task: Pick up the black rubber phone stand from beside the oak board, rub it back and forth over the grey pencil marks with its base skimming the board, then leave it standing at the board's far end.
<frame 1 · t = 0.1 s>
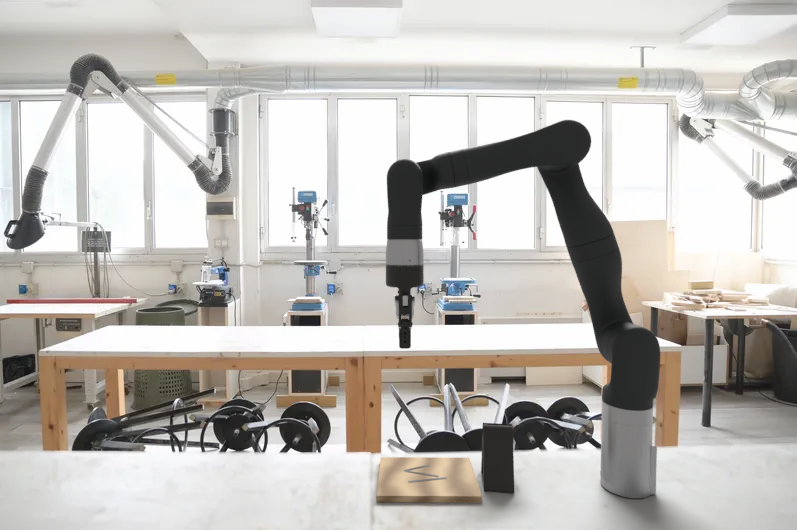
hand: (404, 343, 92), 29 cm above the workbench, tool pointing down, fingers open, 8 cm apart
oak board: (427, 480, 95), on the workbench
phone stand: (496, 482, 95), on the workbench
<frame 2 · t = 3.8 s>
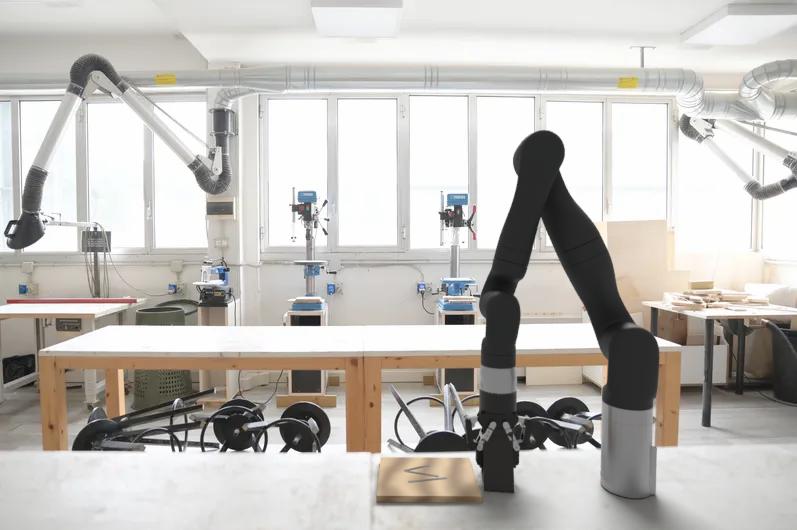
hand: (496, 466, 95), 3 cm above the workbench, tool pointing down, fingers closed on phone stand, 6 cm apart
phone stand: (496, 482, 95), on the workbench, touching gripper
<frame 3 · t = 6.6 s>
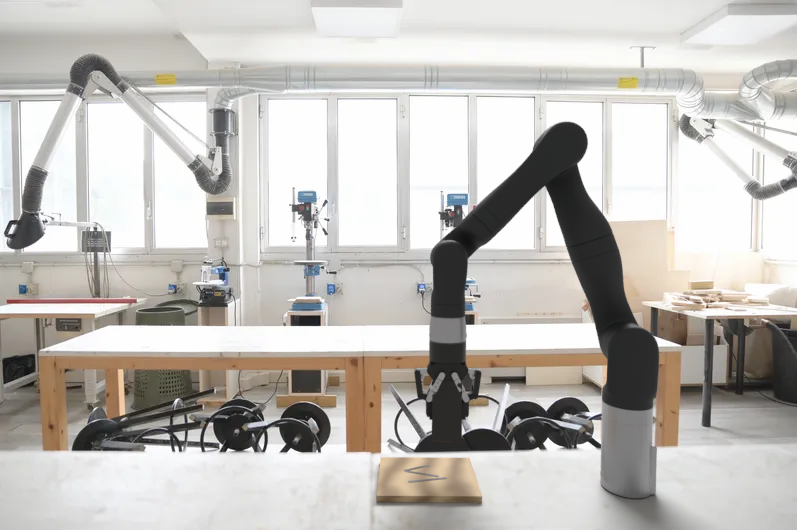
hand: (447, 418, 94), 13 cm above the workbench, tool pointing down, fingers closed on phone stand, 6 cm apart
phone stand: (447, 434, 95), point 10 cm above the workbench, touching gripper
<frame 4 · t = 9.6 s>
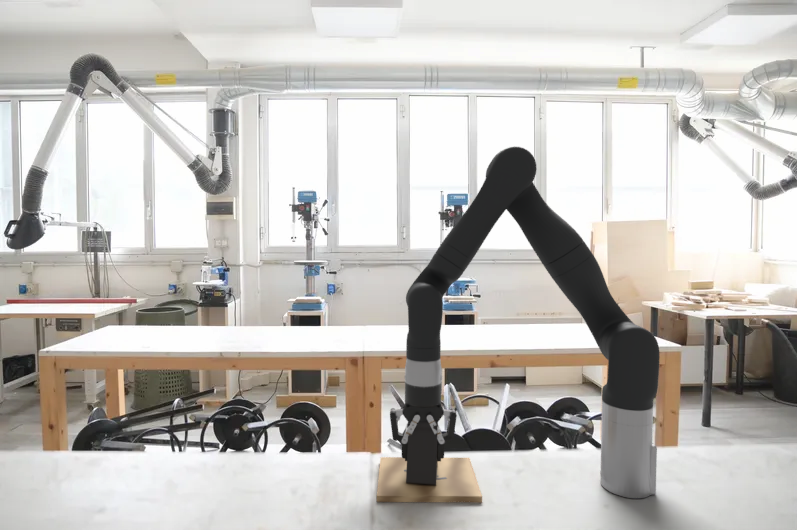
hand: (422, 459, 95), 4 cm above the workbench, tool pointing down, fingers closed on phone stand, 6 cm apart
phone stand: (422, 475, 95), point 1 cm above the workbench, touching gripper
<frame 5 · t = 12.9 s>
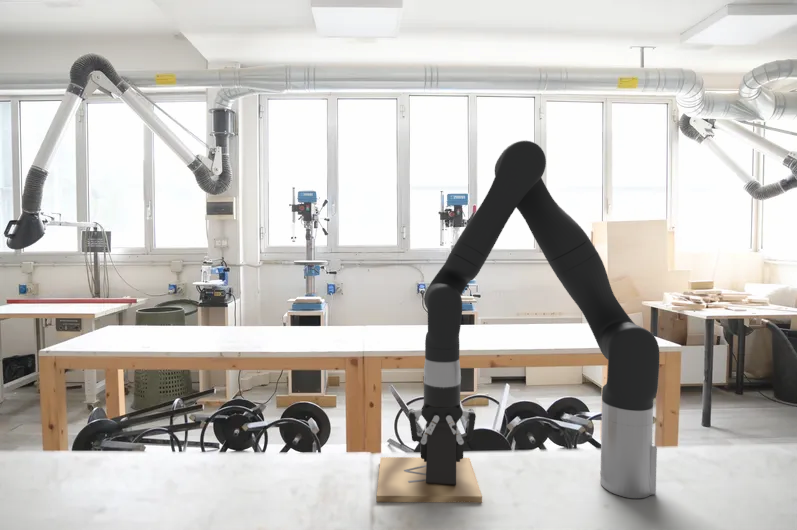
hand: (441, 460, 95), 4 cm above the workbench, tool pointing down, fingers closed on phone stand, 6 cm apart
phone stand: (441, 474, 95), point 1 cm above the workbench, touching gripper
when the fingers open (5 cm above the workbench, at t = 15.6 s): phone stand stays where it is, resting on oak board.
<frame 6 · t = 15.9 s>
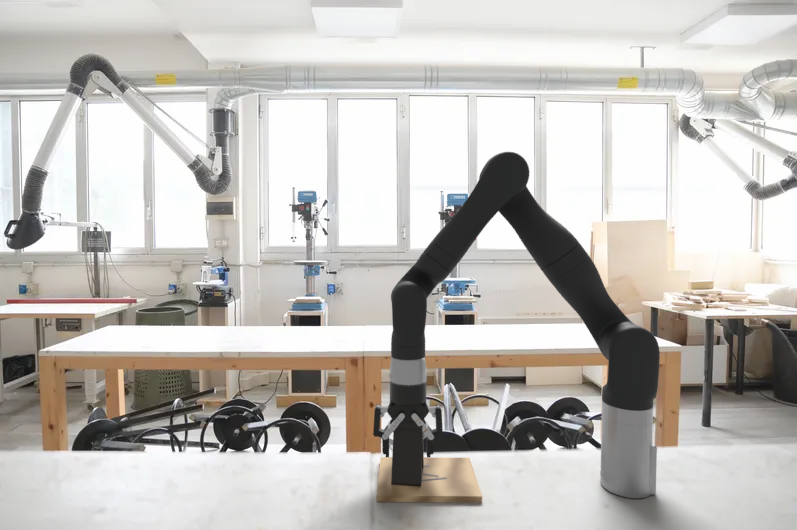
hand: (407, 455, 95), 5 cm above the workbench, tool pointing down, fingers open, 8 cm apart
phone stand: (408, 475, 95), point 1 cm above the workbench, touching oak board
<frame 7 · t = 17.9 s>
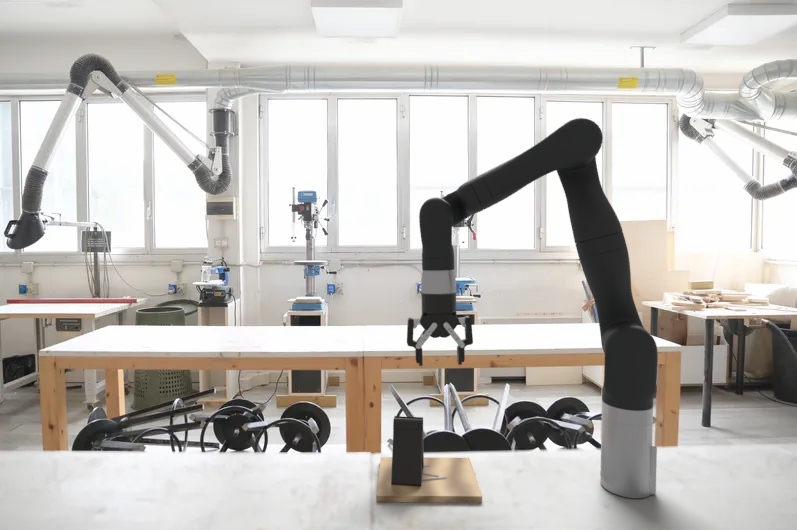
hand: (439, 364, 100), 23 cm above the workbench, tool pointing down, fingers open, 8 cm apart
nothing on the workbench moved.
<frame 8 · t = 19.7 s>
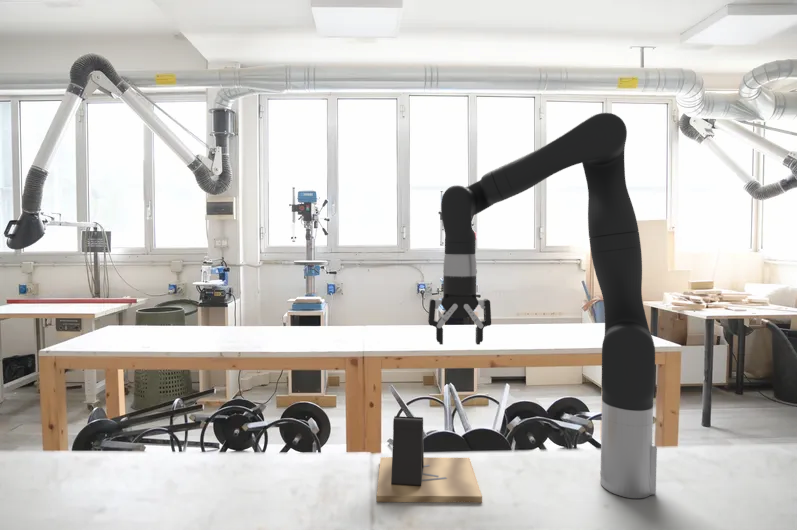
hand: (459, 343, 106), 26 cm above the workbench, tool pointing down, fingers open, 8 cm apart
nothing on the workbench moved.
at the end: phone stand inside the target area (0.1 cm from its centre), point 1.1 cm above the workbench; phone stand tilted 0°; the gripper is holding nothing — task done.
